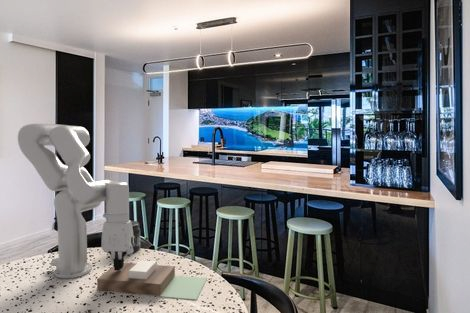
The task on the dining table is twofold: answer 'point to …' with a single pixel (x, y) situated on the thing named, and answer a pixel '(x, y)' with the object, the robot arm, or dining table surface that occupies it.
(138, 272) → the white rectangular block
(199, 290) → the mat
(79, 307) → the dining table surface
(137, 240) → the supplement container
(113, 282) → the deck
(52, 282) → the dining table surface
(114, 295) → the dining table surface
